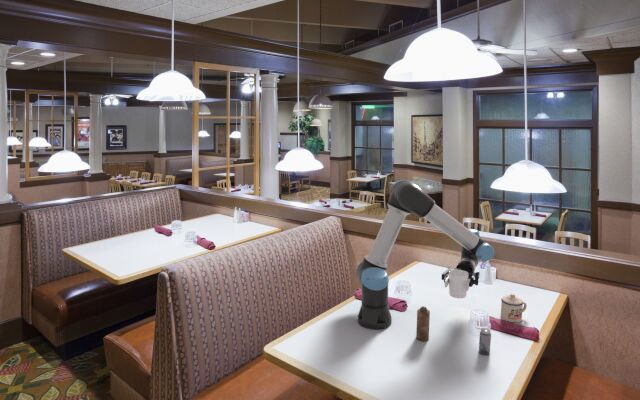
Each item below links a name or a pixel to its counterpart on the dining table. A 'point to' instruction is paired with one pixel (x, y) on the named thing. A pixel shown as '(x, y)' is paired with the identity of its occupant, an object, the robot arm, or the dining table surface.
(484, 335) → the salt shaker
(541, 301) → the dining table surface
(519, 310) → the teacup with lid
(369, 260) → the robot arm
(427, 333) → the pepper mill
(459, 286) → the white cup
